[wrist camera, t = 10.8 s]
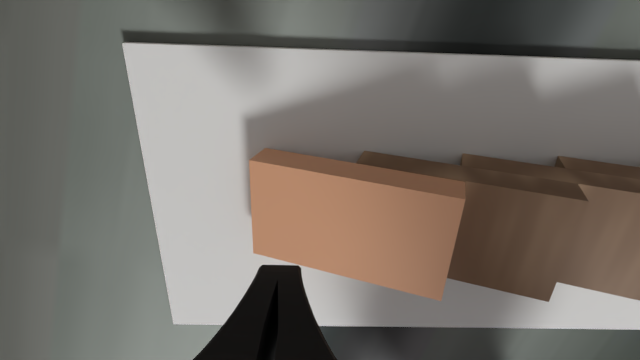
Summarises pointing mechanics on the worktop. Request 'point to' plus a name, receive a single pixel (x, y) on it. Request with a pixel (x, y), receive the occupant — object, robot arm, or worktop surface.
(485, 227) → the walnut domino
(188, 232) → the grey mat
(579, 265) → the walnut domino
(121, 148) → the worktop surface
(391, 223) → the tan wooden flat block
